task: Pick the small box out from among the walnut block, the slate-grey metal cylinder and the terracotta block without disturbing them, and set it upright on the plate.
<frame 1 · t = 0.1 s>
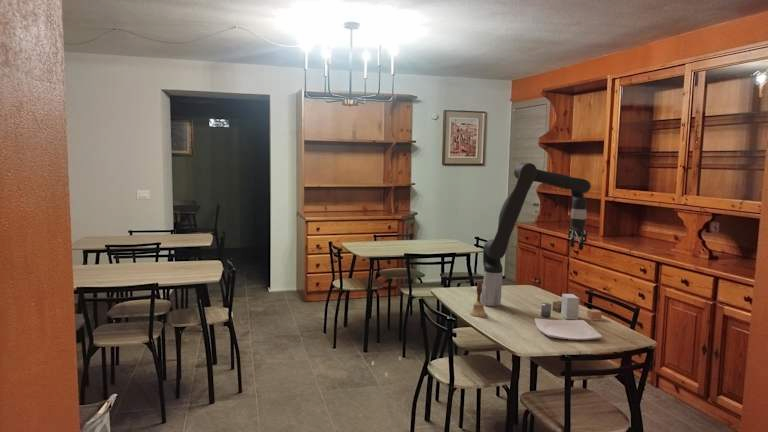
hand: (576, 248, 270), 29 cm above the table, tool pointing down, fingers open, 8 cm apart
walnut block: (559, 311, 257), on the table
terracotta block: (593, 319, 245), on the table
small box: (569, 317, 247), on the table
plate: (566, 333, 224), on the table
slate grey cylinder: (545, 316, 247), on the table
hand bell: (478, 315, 247), on the table
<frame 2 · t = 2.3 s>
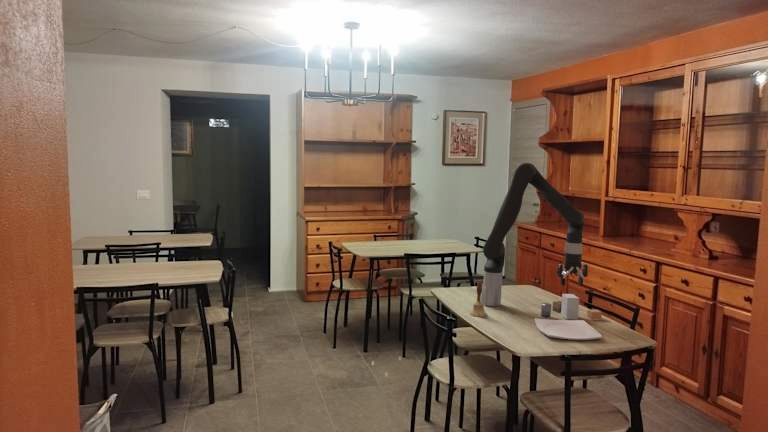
hand: (571, 285, 245), 15 cm above the table, tool pointing down, fingers open, 8 cm apart
nothing on the table moved.
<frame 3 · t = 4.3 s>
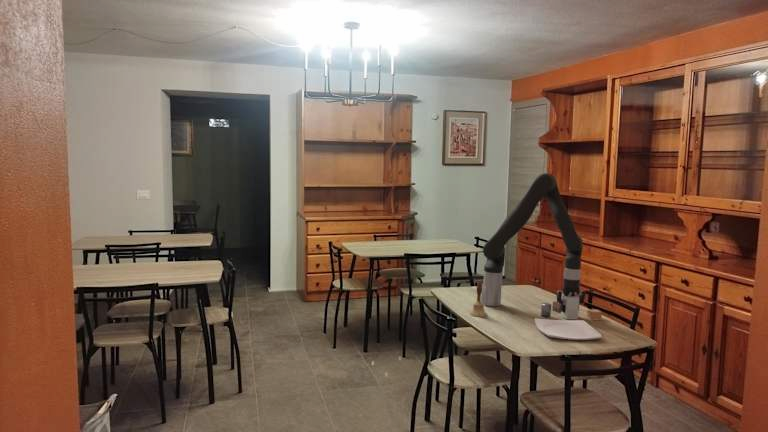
hand: (569, 311, 246), 3 cm above the table, tool pointing down, fingers closed on small box, 6 cm apart
small box: (569, 317, 247), on the table, touching gripper
everything else where it was.
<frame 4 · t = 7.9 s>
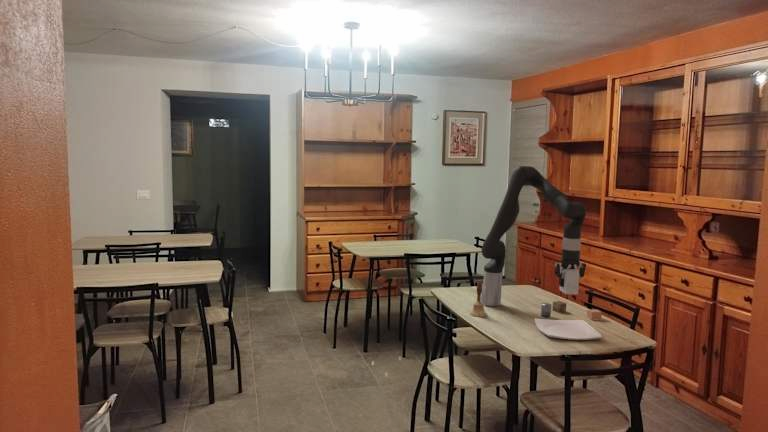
hand: (568, 286, 224), 20 cm above the table, tool pointing down, fingers closed on small box, 6 cm apart
small box: (568, 292, 225), point 17 cm above the table, touching gripper
everything else where it was.
when the fingers open (7 cm above the table, at t = 11.4 s): small box drops 2 cm, resting on plate.
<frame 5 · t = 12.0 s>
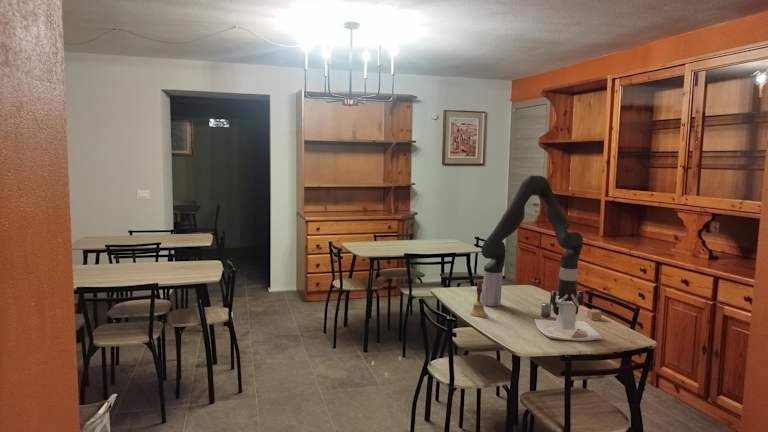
hand: (565, 314, 224), 8 cm above the table, tool pointing down, fingers open, 8 cm apart
small box: (565, 327, 225), point 2 cm above the table, touching plate
plate: (566, 334, 224), on the table, touching small box
everything else where it was.
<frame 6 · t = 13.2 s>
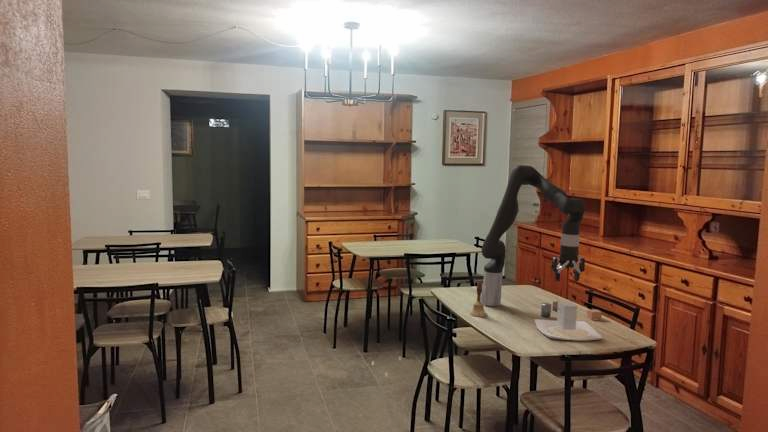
hand: (566, 281, 224), 22 cm above the table, tool pointing down, fingers open, 8 cm apart
nothing on the table moved.
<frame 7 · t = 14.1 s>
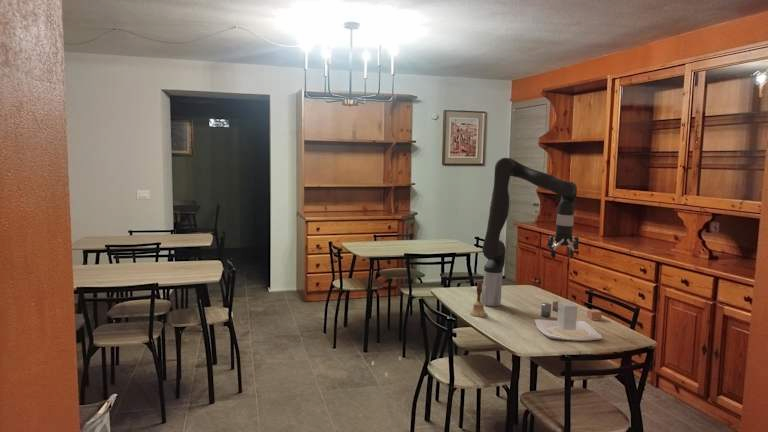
hand: (561, 258, 244), 29 cm above the table, tool pointing down, fingers open, 8 cm apart
nothing on the table moved.
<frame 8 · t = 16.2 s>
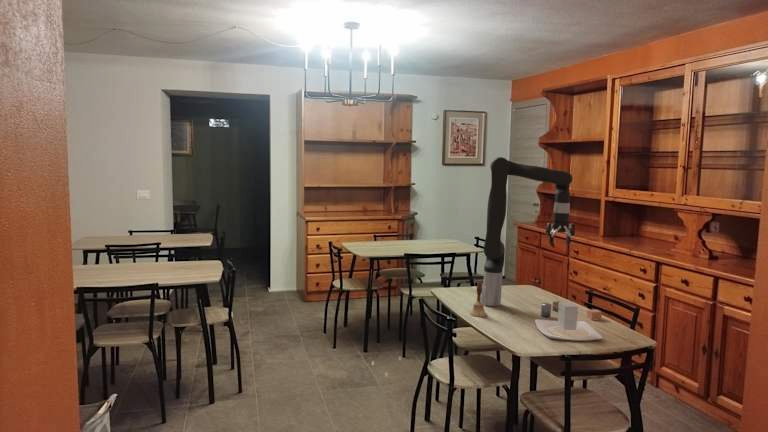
hand: (559, 244, 257), 33 cm above the table, tool pointing down, fingers open, 8 cm apart
nothing on the table moved.
at the end: small box inside the target area on the plate (0.5 cm from its centre), point 2.7 cm above the plate's base; small box tilted 0°; the gripper is holding nothing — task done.
